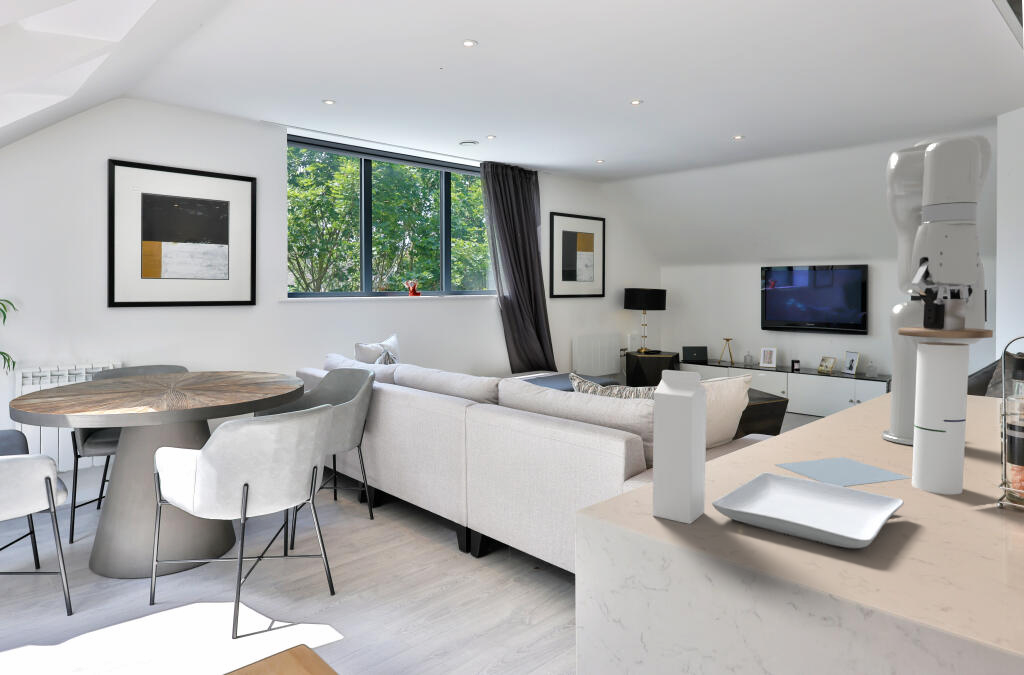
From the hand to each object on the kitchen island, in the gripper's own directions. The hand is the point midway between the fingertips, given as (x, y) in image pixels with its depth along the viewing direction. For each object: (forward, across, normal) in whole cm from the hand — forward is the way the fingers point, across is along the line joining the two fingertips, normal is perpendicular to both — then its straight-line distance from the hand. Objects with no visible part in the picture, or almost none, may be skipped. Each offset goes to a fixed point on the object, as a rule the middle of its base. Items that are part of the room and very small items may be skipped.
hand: (943, 326), depth 105 cm
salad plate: (+28, +31, +4) cm, 42 cm away
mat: (+28, +8, -13) cm, 32 cm away
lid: (+1, 0, 0) cm, 1 cm away
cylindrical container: (+28, 0, 0) cm, 28 cm away
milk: (+28, +48, -4) cm, 56 cm away
